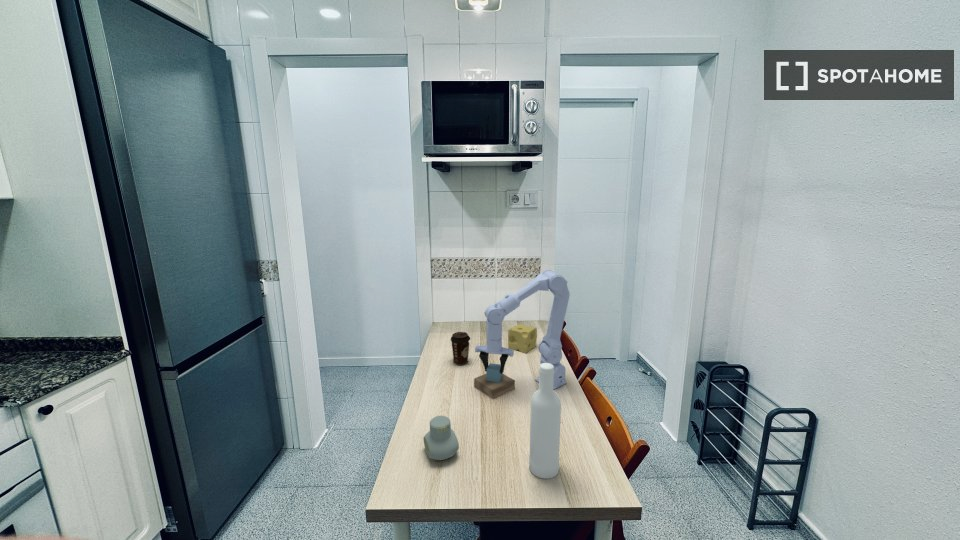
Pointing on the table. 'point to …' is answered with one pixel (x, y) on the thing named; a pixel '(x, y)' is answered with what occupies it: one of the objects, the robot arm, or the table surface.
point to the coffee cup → (460, 347)
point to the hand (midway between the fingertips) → (494, 371)
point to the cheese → (522, 338)
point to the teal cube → (493, 373)
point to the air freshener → (440, 439)
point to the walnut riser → (494, 386)
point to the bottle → (545, 426)
